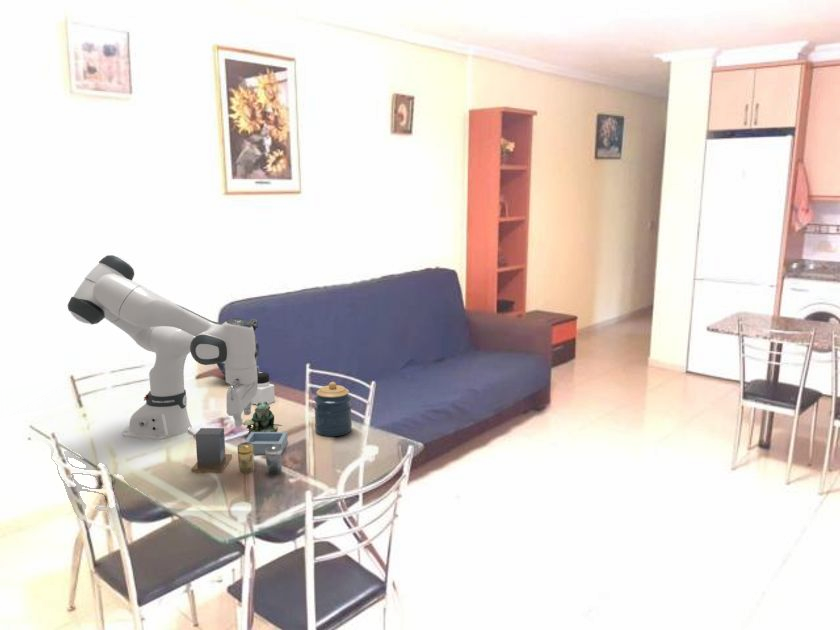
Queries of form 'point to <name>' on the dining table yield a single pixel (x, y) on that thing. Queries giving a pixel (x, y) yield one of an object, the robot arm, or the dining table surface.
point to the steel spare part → (273, 459)
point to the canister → (333, 410)
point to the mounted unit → (211, 450)
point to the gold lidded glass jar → (246, 457)
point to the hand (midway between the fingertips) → (243, 420)
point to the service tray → (266, 440)
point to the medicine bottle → (264, 390)
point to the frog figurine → (262, 420)
